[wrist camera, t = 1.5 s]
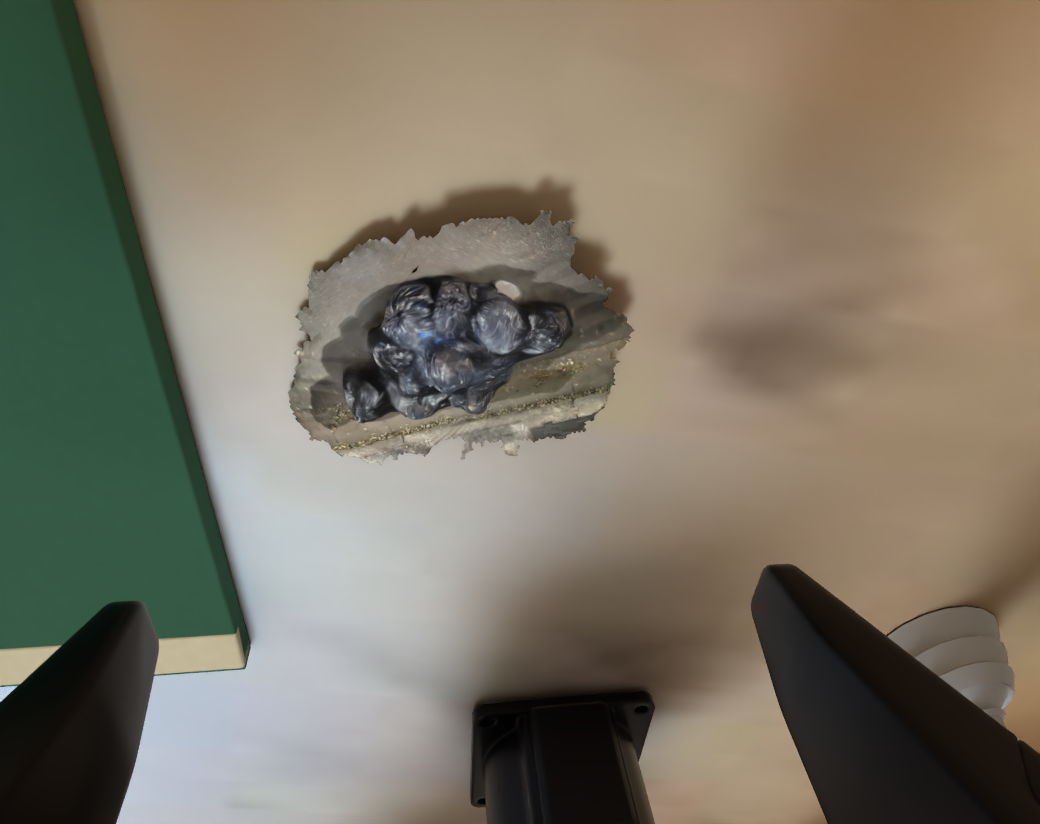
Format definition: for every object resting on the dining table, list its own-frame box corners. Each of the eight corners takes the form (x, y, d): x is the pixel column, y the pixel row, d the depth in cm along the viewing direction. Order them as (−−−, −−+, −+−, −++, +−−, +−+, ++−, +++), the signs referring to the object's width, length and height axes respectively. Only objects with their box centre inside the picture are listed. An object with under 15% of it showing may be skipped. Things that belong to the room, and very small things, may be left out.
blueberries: (663, 371, 16) (689, 416, 15) (400, 520, 18) (399, 575, 17) (520, 125, 13) (534, 151, 11) (206, 341, 14) (181, 390, 13)
